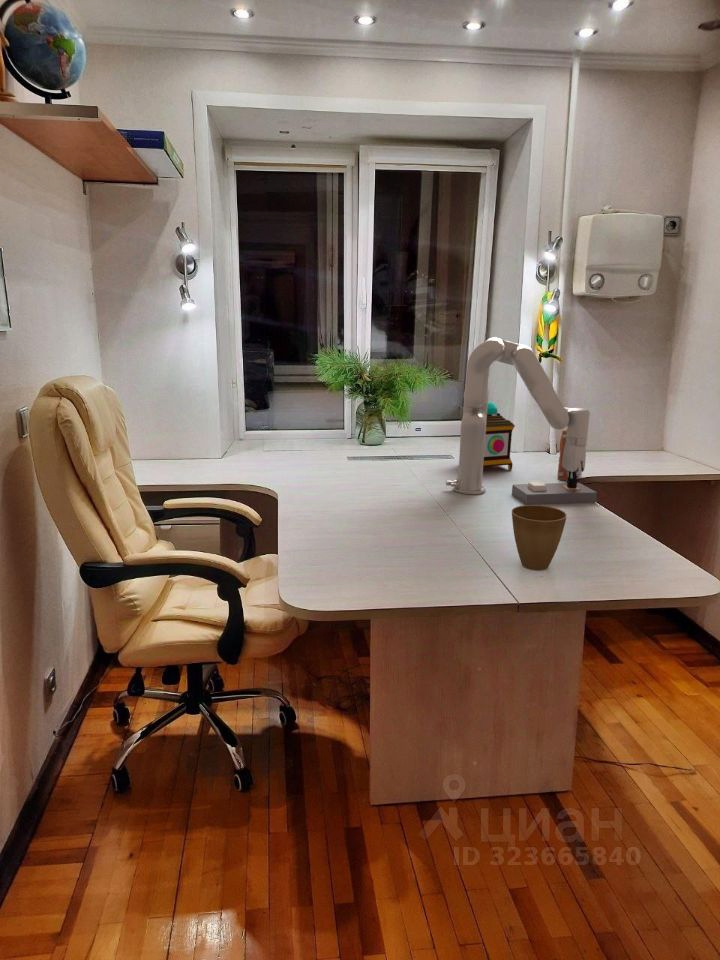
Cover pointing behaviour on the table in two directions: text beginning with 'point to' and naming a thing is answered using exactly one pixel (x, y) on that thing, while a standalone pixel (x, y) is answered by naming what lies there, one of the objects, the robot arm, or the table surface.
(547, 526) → the plant pot
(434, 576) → the table surface
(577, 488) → the orange key
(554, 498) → the keypad housing
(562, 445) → the orange box
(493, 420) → the decorative lantern
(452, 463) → the table surface
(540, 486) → the ivory key
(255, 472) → the table surface
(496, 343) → the robot arm
